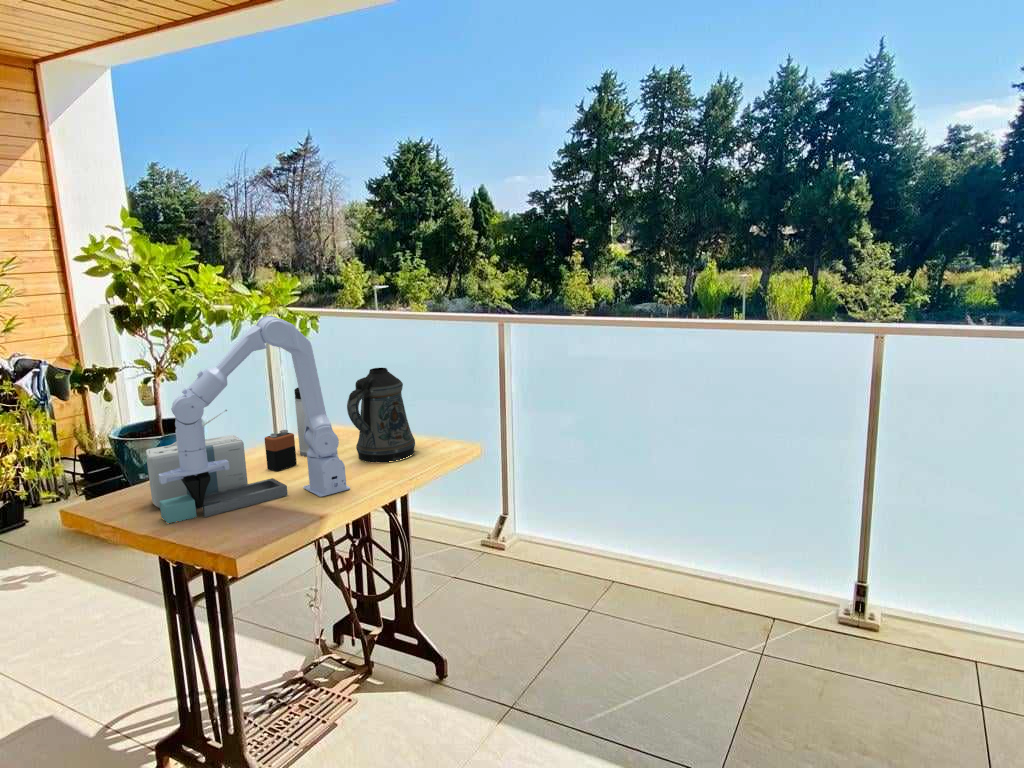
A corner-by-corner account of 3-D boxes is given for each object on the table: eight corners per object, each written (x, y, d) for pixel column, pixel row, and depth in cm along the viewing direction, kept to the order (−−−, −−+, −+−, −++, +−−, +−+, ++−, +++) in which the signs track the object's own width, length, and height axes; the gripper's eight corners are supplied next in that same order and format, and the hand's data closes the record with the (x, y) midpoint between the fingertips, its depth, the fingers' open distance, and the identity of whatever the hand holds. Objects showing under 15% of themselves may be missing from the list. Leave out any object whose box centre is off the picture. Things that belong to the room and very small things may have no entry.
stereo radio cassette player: (155, 512, 159) (144, 427, 156) (149, 502, 166) (138, 420, 162) (249, 491, 171) (241, 412, 167) (240, 483, 178) (232, 407, 174)
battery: (297, 465, 192) (294, 430, 190) (277, 472, 186) (273, 435, 184) (287, 463, 194) (284, 428, 192) (266, 469, 188) (263, 433, 187)
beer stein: (422, 447, 206) (417, 363, 201) (403, 467, 187) (397, 375, 182) (368, 446, 208) (362, 364, 203) (344, 466, 189) (337, 375, 184)
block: (196, 517, 155) (194, 500, 154) (167, 524, 151) (165, 506, 151) (190, 511, 159) (187, 494, 158) (161, 518, 155) (159, 501, 154)
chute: (273, 487, 173) (272, 478, 173) (287, 495, 167) (286, 485, 167) (193, 508, 161) (191, 497, 160) (205, 517, 155) (203, 506, 154)
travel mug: (327, 452, 203) (321, 385, 200) (307, 457, 199) (301, 388, 195) (315, 448, 207) (309, 382, 204) (295, 453, 203) (289, 386, 199)
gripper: (218, 438, 163) (225, 494, 165) (151, 451, 153) (159, 510, 156) (229, 444, 158) (236, 501, 160) (161, 458, 148) (168, 518, 151)
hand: (199, 506), depth 158 cm, fingers closed
